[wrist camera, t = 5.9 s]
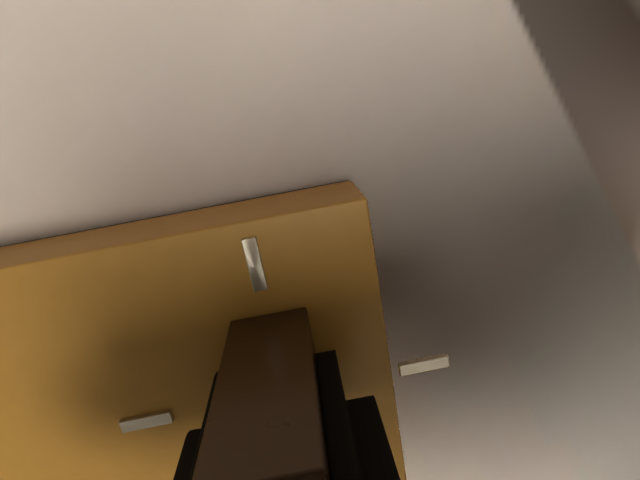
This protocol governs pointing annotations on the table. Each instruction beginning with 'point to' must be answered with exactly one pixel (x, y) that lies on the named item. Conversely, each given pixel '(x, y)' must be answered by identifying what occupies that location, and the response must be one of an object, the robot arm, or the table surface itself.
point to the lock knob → (266, 404)
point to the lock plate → (176, 327)
